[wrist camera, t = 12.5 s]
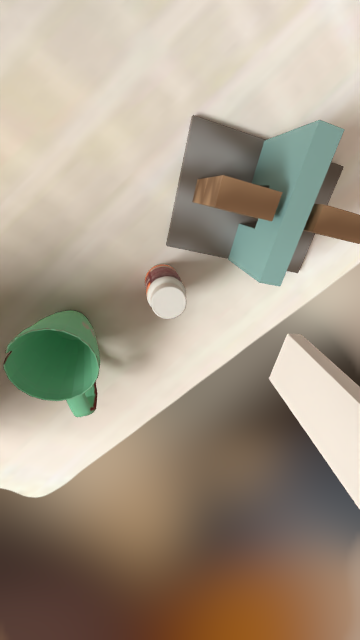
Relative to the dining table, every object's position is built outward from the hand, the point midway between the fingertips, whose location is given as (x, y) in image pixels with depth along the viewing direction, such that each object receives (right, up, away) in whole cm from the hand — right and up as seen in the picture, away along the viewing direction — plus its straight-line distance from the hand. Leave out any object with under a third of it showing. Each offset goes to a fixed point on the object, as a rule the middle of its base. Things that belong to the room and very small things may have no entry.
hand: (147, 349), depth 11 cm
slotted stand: (+11, +16, +22) cm, 29 cm away
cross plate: (+11, +16, +22) cm, 29 cm away
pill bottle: (-1, +7, +25) cm, 26 cm away
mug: (-14, -1, +27) cm, 30 cm away
